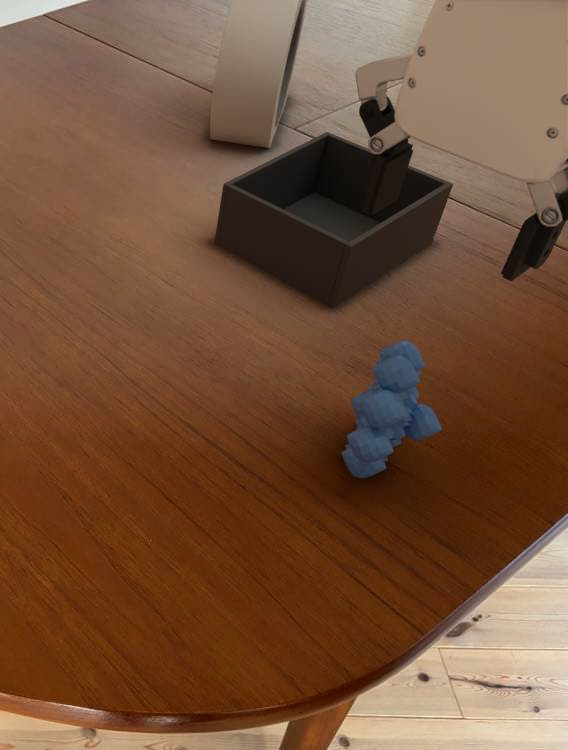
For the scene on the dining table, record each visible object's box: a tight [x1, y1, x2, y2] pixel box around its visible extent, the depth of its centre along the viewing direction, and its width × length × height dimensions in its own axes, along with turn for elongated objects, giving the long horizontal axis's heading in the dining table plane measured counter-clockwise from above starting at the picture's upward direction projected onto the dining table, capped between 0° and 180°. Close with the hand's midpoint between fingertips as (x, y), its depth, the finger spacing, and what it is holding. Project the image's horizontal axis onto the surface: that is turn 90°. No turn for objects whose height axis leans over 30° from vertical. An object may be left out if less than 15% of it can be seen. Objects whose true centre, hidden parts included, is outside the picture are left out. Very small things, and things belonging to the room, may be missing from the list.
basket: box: [214, 131, 454, 309], centre depth 89 cm, size 15×17×8 cm
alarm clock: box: [209, 0, 308, 149], centre depth 106 cm, size 21×8×20 cm, turn 160°
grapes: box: [340, 339, 443, 479], centre depth 64 cm, size 12×7×12 cm, turn 151°
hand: (444, 237), depth 54 cm, fingers open, 9 cm apart
